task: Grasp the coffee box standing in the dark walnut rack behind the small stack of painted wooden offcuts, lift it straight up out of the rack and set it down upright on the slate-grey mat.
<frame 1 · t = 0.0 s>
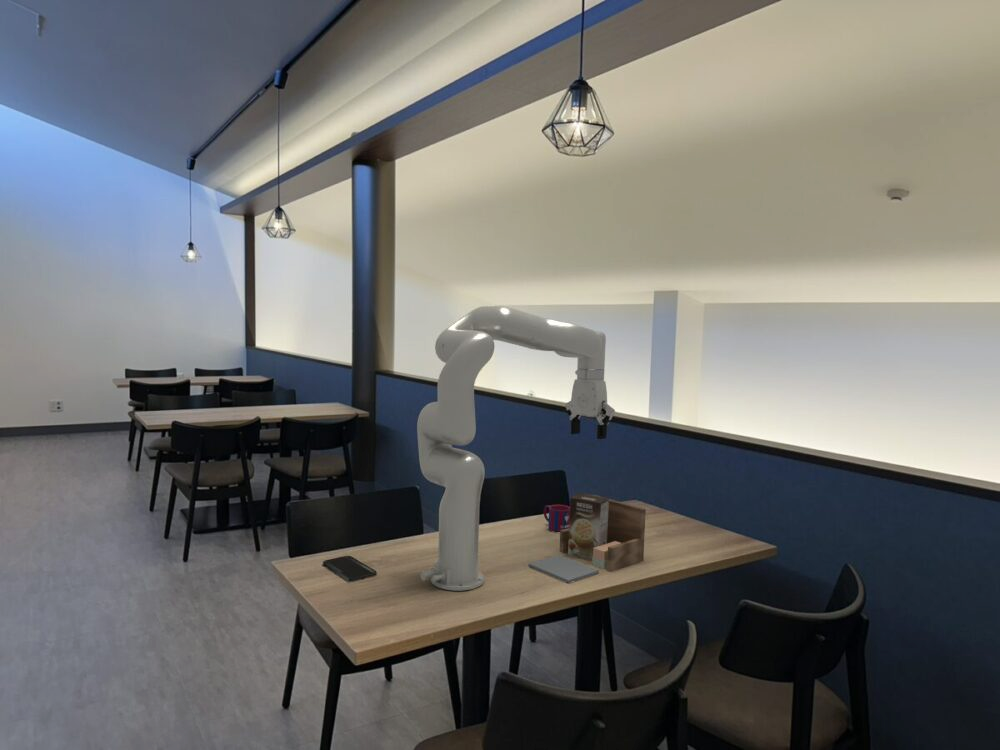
hand: (588, 436, 185), 31 cm above the table, tool pointing down, fingers open, 9 cm apart
rack: (599, 556, 178), on the table
mat: (563, 569, 167), on the table
offcut lower: (610, 564, 174), on the table, touching offcut upper
mug: (555, 528, 203), on the table
phone: (349, 571, 163), on the table
offcut upper: (609, 555, 173), point 2 cm above the table, touching offcut lower
coffee box: (587, 556, 178), resting in rack
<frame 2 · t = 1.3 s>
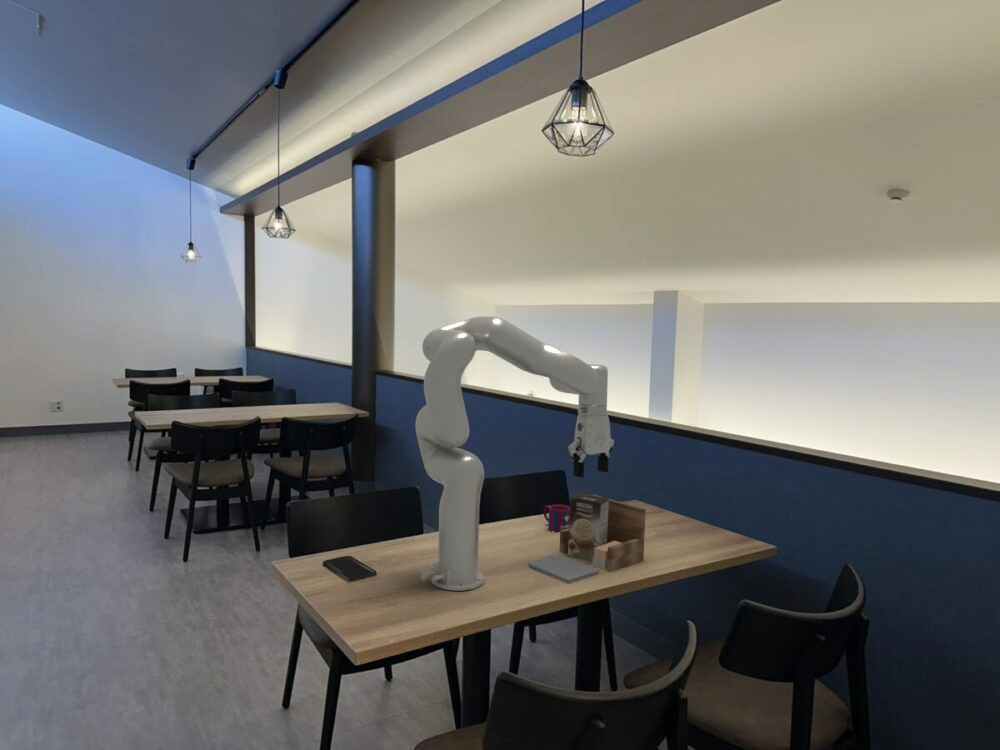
hand: (590, 473, 177), 22 cm above the table, tool pointing down, fingers open, 9 cm apart
nothing on the table moved.
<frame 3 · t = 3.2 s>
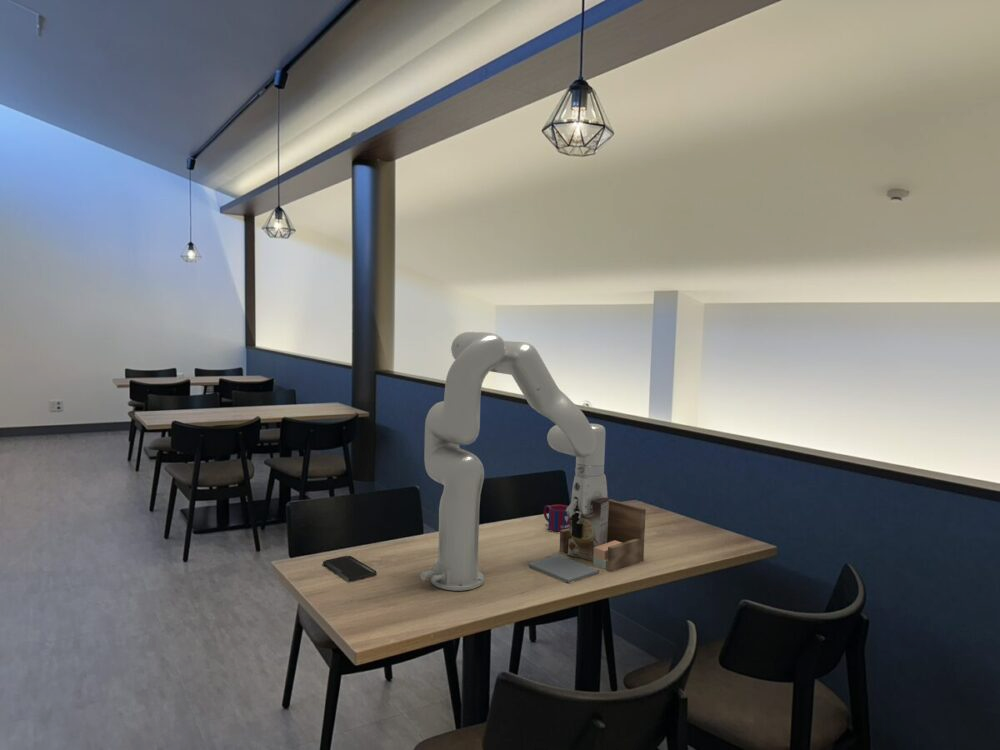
hand: (587, 534, 178), 6 cm above the table, tool pointing down, fingers closed on coffee box, 7 cm apart
coffee box: (587, 556, 178), resting in rack, touching gripper
everything else where it was.
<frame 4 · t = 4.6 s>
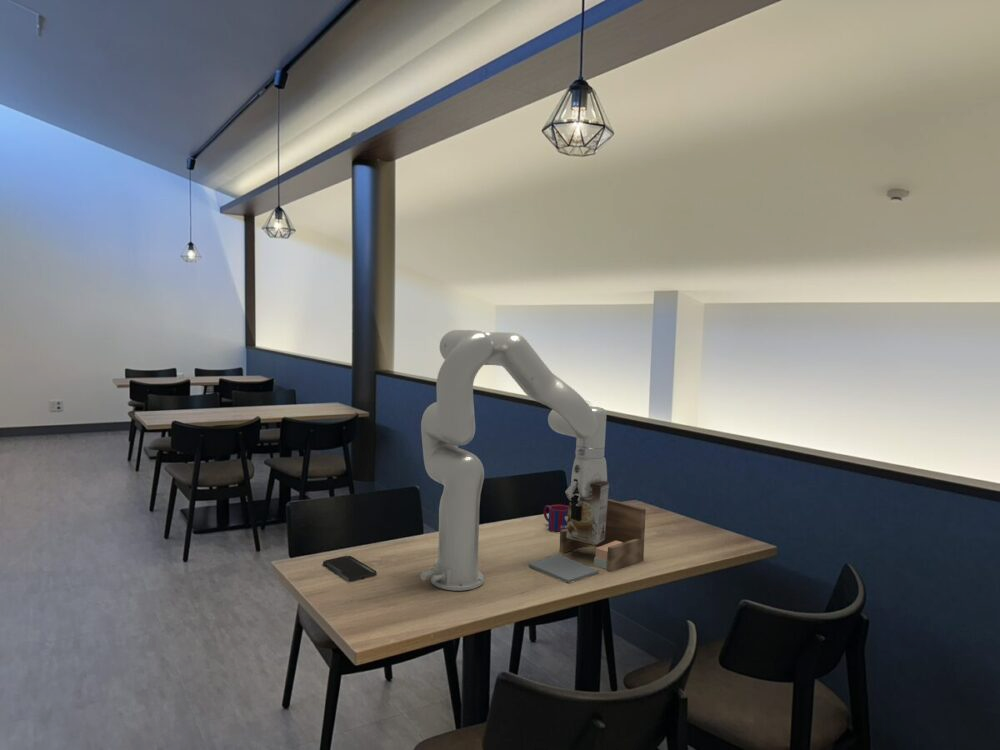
hand: (586, 517, 178), 11 cm above the table, tool pointing down, fingers closed on coffee box, 7 cm apart
coffee box: (585, 539, 178), point 4 cm above the table, touching gripper
everything else where it was.
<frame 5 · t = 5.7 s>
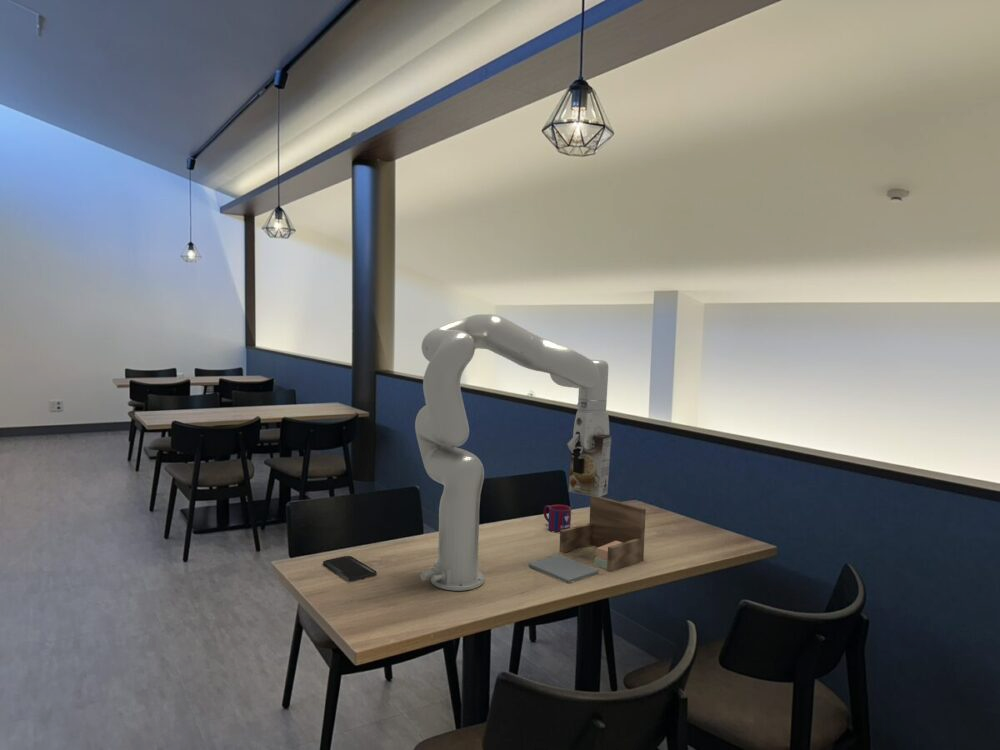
hand: (588, 471, 177), 23 cm above the table, tool pointing down, fingers closed on coffee box, 7 cm apart
coffee box: (588, 493, 177), point 17 cm above the table, touching gripper
everything else where it was.
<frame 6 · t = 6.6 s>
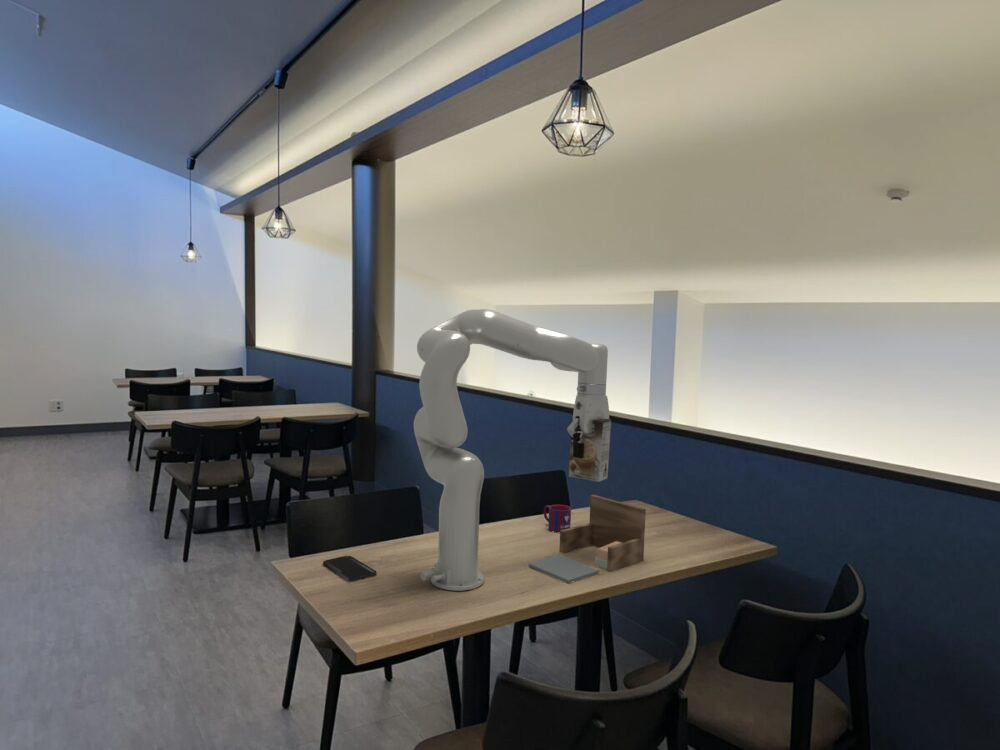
hand: (588, 455, 176), 27 cm above the table, tool pointing down, fingers closed on coffee box, 7 cm apart
coffee box: (588, 478, 176), point 21 cm above the table, touching gripper
everything else where it was.
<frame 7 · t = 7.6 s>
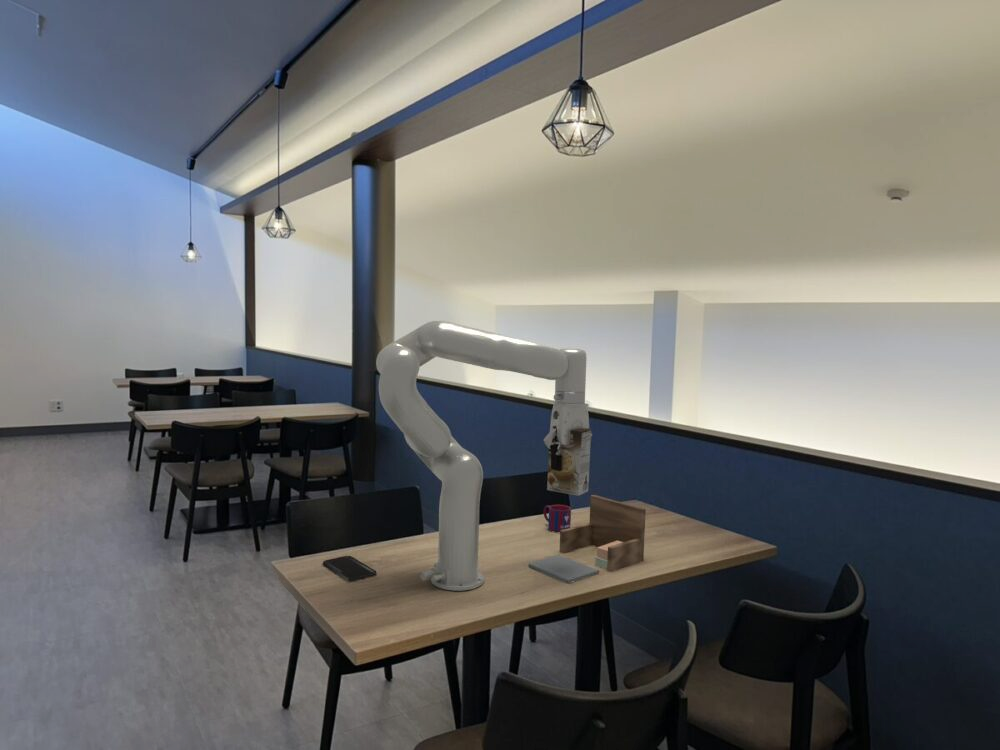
hand: (567, 467, 166), 26 cm above the table, tool pointing down, fingers closed on coffee box, 7 cm apart
offcut lower: (612, 564, 174), on the table
offcut upper: (612, 554, 173), point 2 cm above the table
coffee box: (567, 491, 166), point 20 cm above the table, touching gripper
everything else where it was.
when the fingers open (8 cm above the table, at t = 10.1 s): coffee box drops 1 cm, resting on mat.
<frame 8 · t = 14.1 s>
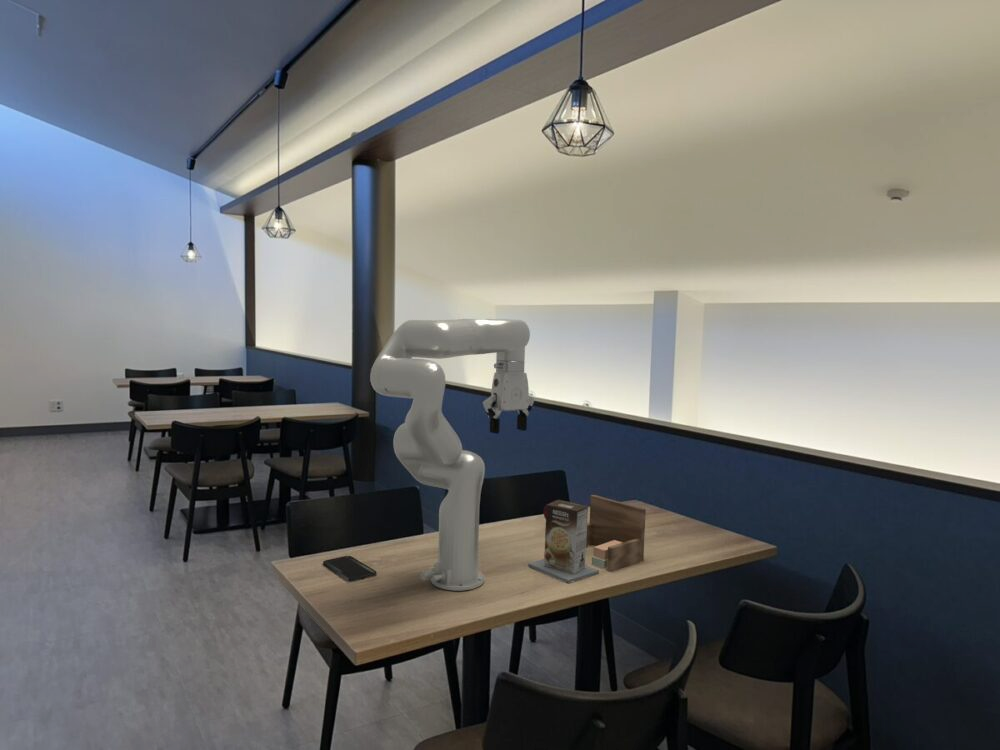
hand: (508, 431, 176), 33 cm above the table, tool pointing down, fingers open, 9 cm apart
offcut lower: (609, 563, 174), on the table, touching offcut upper
offcut upper: (609, 554, 174), point 2 cm above the table, touching offcut lower
coffee box: (564, 567, 167), point 1 cm above the table, touching mat
everything else where it was.
at the end: coffee box inside the target area on the mat (0.3 cm from its centre), point 0.6 cm above the mat's base; coffee box tilted 0°; offcut upper moved 0.8 cm from its start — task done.
